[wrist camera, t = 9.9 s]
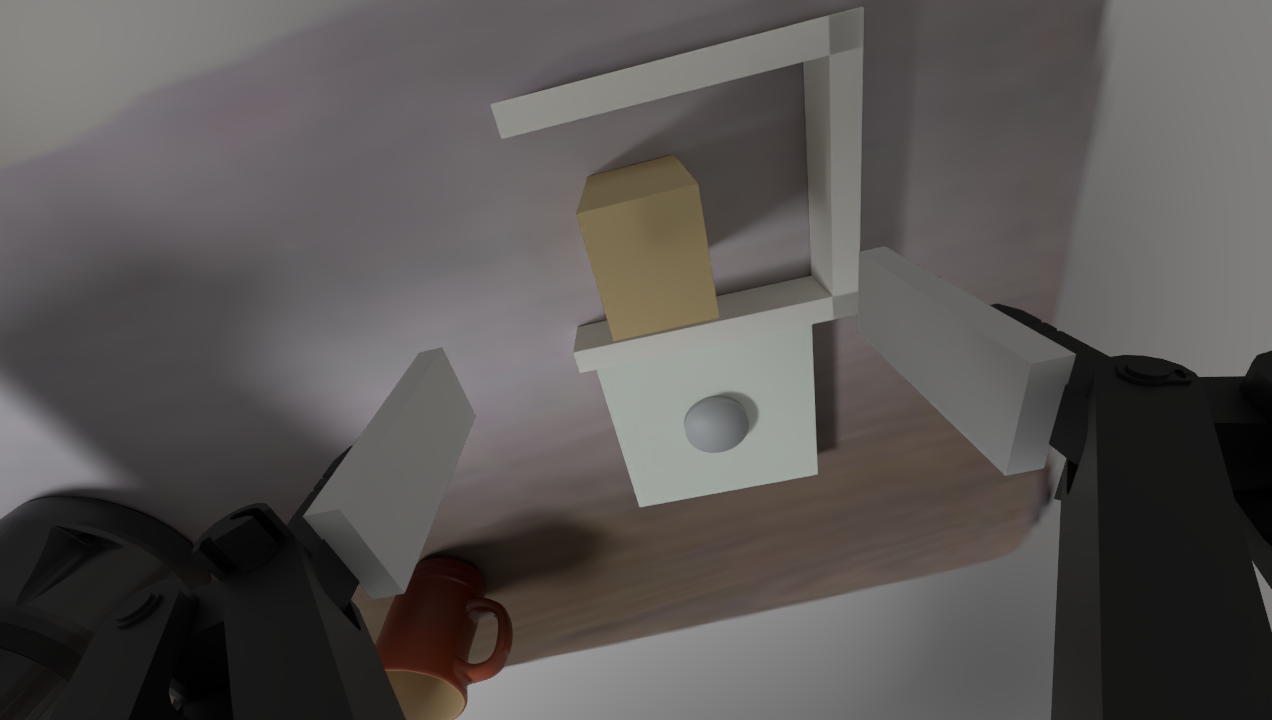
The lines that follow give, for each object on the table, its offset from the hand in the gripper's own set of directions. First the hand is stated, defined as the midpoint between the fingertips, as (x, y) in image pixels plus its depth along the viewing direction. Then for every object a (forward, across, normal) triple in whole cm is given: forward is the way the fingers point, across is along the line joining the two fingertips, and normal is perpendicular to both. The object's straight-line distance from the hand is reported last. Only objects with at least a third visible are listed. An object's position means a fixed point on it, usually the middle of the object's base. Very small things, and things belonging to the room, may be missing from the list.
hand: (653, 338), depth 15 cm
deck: (+15, +3, -7) cm, 17 cm away
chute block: (+15, +1, 0) cm, 15 cm away
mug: (+16, -22, -28) cm, 39 cm away
